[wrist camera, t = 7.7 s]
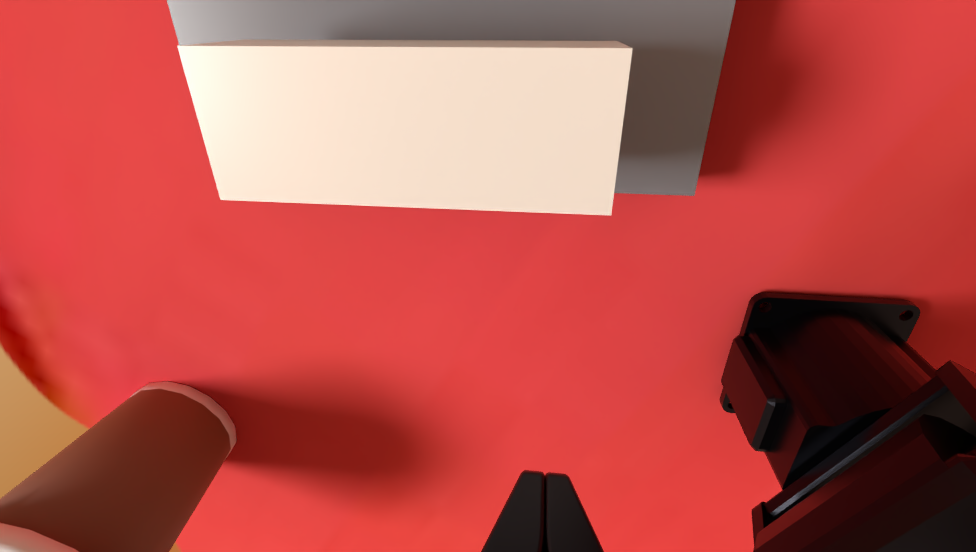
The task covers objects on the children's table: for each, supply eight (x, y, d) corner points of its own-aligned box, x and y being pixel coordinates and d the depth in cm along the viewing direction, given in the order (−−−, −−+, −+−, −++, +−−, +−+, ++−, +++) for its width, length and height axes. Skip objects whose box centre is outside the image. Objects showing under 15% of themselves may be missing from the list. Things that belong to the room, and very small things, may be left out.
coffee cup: (142, 467, 32) (-57, 690, 21) (85, 357, 27) (-201, 570, 17) (273, 479, 31) (131, 720, 20) (236, 367, 27) (31, 600, 16)
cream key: (617, 41, 13) (632, 48, 11) (601, 180, 15) (611, 215, 13) (244, 39, 15) (177, 45, 12) (273, 169, 16) (220, 199, 14)
